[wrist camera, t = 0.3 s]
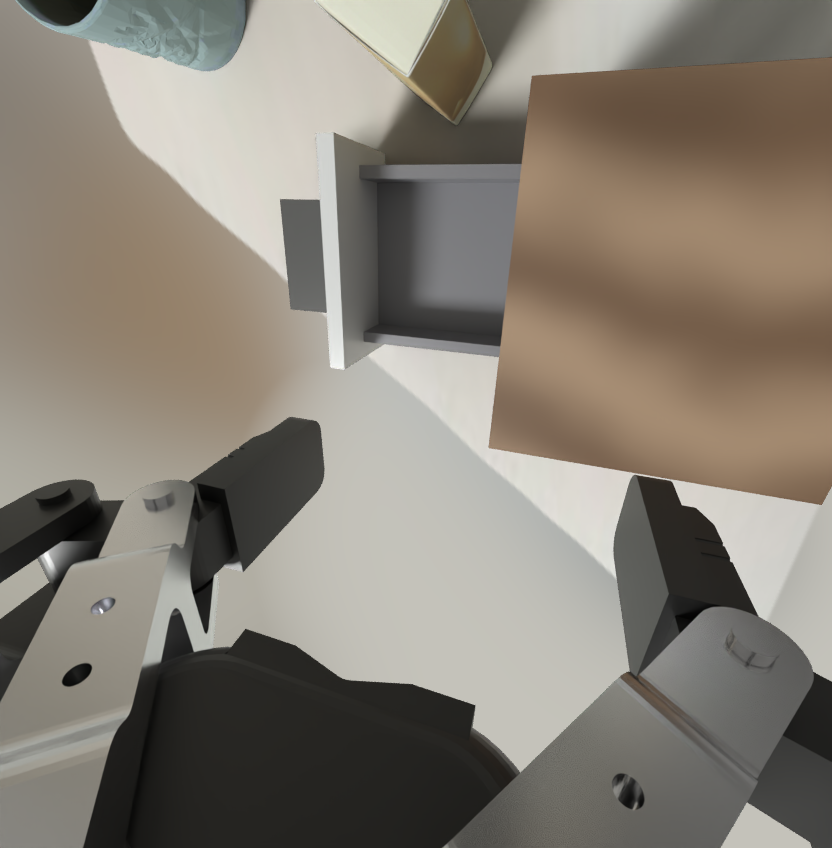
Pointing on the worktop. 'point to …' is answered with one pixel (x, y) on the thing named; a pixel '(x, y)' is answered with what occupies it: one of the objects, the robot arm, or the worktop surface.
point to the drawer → (402, 251)
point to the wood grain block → (675, 277)
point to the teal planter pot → (152, 26)
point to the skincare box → (421, 46)
